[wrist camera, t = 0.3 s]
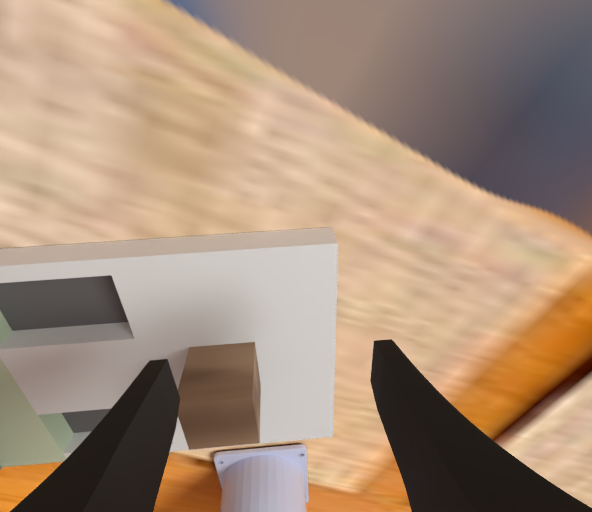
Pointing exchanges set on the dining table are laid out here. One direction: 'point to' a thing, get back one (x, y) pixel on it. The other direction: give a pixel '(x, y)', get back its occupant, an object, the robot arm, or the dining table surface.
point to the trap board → (162, 329)
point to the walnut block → (220, 396)
